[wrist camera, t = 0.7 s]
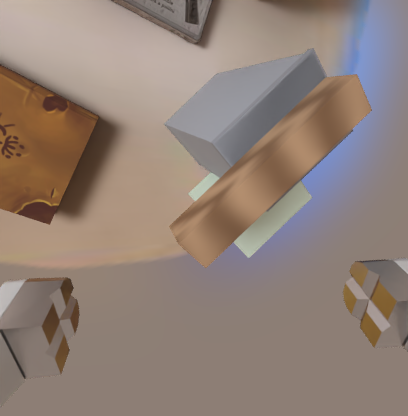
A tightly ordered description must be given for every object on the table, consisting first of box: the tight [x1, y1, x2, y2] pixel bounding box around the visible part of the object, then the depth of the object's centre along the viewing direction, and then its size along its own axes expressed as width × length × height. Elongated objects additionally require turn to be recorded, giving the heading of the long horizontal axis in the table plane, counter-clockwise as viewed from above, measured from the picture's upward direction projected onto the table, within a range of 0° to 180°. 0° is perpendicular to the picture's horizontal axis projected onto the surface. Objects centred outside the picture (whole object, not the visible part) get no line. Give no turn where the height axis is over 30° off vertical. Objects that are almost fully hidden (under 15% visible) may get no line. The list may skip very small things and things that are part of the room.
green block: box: [188, 172, 312, 258], centre depth 51 cm, size 14×8×17 cm, turn 130°
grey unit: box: [164, 48, 353, 212], centre depth 41 cm, size 13×10×26 cm
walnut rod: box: [169, 74, 372, 268], centre depth 28 cm, size 22×4×4 cm, turn 129°
